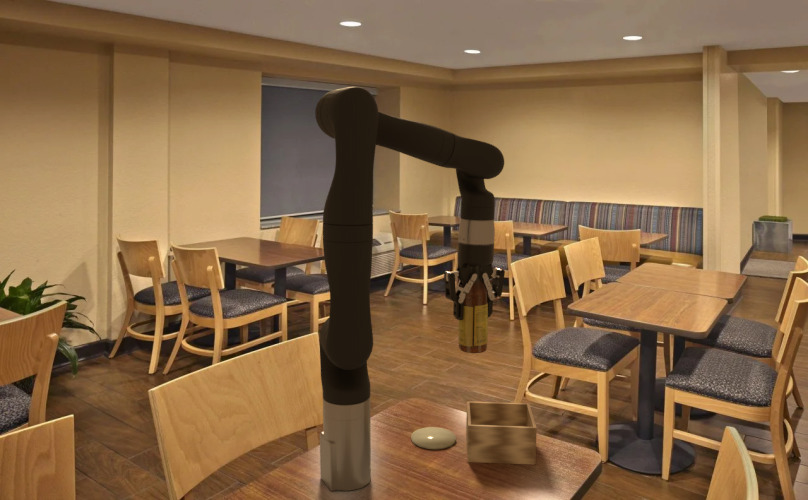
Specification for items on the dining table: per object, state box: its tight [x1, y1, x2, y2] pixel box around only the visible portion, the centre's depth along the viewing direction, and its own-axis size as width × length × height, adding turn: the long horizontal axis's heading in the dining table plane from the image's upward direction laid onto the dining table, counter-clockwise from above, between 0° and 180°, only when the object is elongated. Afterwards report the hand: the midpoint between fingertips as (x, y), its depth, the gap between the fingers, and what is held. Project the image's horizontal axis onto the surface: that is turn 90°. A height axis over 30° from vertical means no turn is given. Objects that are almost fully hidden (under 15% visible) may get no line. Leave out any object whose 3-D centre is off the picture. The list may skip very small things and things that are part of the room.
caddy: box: [465, 400, 538, 465], centre depth 140 cm, size 14×13×8 cm
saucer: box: [410, 426, 457, 450], centre depth 146 cm, size 10×10×1 cm
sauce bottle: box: [458, 265, 489, 354], centre depth 138 cm, size 6×6×20 cm
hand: (472, 317), depth 138 cm, fingers closed on sauce bottle, 6 cm apart
